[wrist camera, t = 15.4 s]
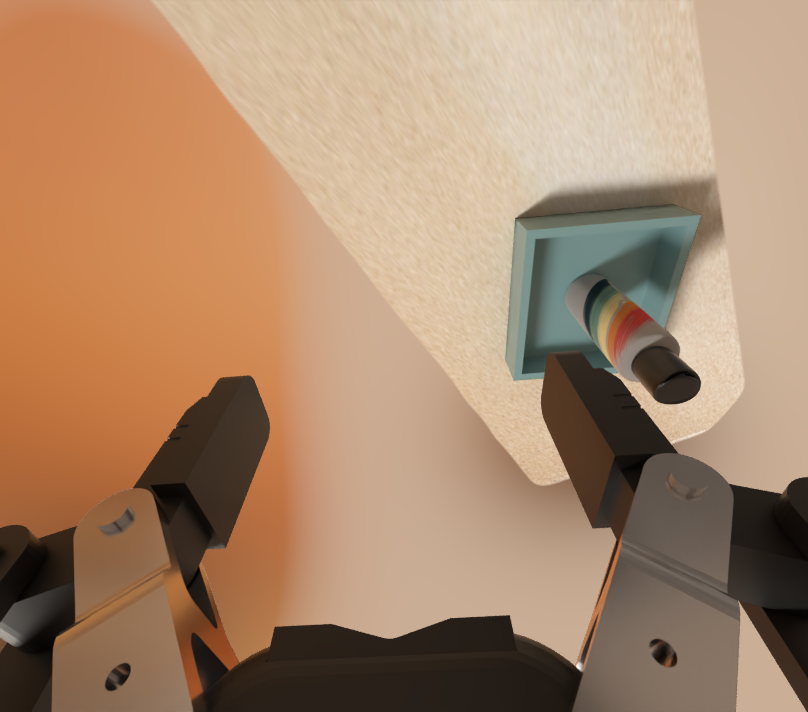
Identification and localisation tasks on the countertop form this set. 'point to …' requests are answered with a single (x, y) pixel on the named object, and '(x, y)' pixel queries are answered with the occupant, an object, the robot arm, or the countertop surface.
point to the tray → (590, 254)
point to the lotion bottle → (631, 339)
